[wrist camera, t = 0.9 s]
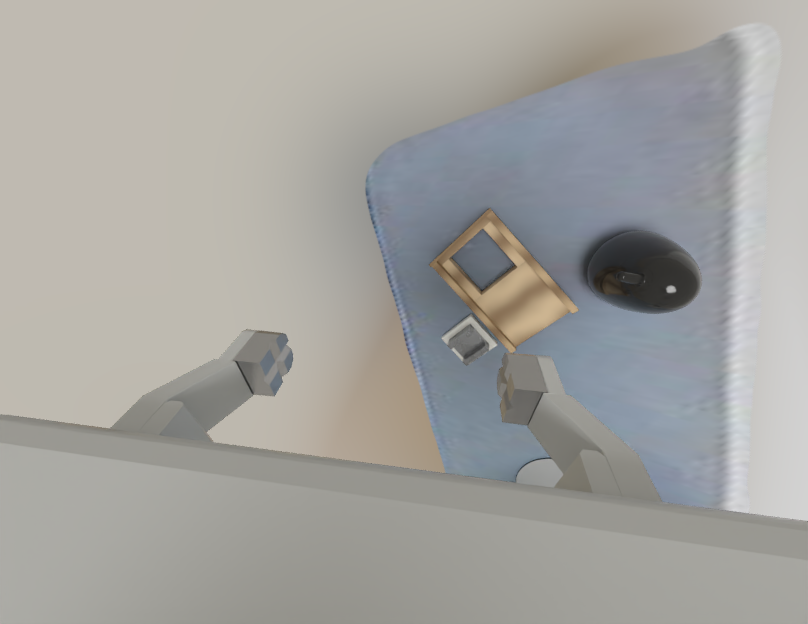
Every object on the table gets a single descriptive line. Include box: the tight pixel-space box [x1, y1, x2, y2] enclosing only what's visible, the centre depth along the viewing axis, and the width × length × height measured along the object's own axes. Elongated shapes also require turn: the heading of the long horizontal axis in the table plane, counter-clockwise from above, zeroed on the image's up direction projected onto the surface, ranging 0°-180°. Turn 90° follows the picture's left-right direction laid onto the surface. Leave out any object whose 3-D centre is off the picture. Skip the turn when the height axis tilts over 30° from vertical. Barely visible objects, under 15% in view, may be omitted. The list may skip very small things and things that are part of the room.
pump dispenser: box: [587, 231, 702, 314], centre depth 36 cm, size 10×10×15 cm
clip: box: [447, 324, 489, 366], centre depth 51 cm, size 5×5×2 cm
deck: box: [429, 208, 579, 353], centre depth 46 cm, size 20×12×4 cm, turn 45°
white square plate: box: [441, 314, 498, 365], centre depth 53 cm, size 7×7×1 cm
